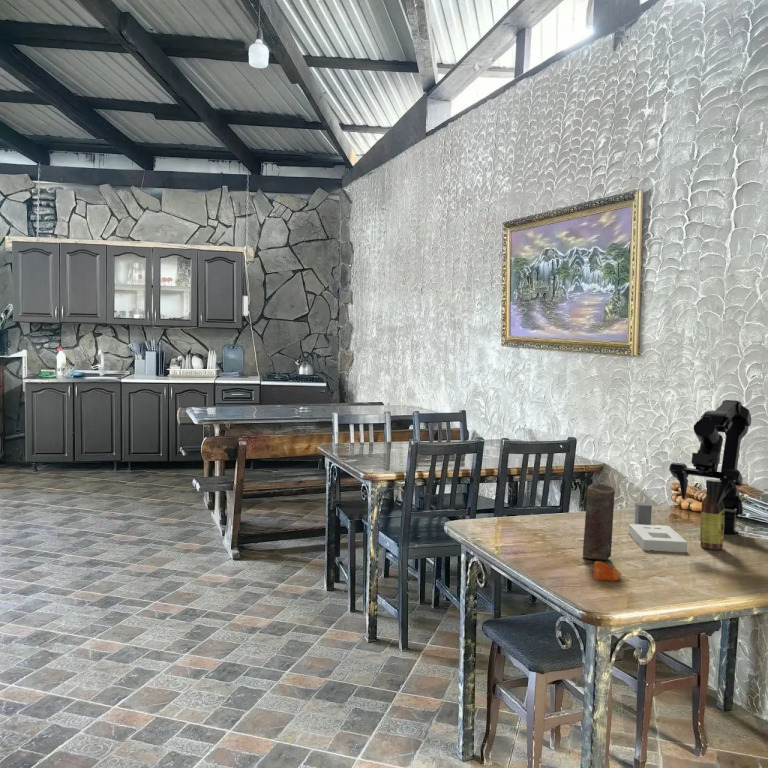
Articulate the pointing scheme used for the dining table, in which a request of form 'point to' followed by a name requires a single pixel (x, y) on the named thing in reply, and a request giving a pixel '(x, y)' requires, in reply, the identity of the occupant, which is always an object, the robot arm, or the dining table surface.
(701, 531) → the sauce bottle
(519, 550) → the dining table surface
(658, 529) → the socket plate
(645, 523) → the plug
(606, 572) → the rock
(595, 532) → the candle
